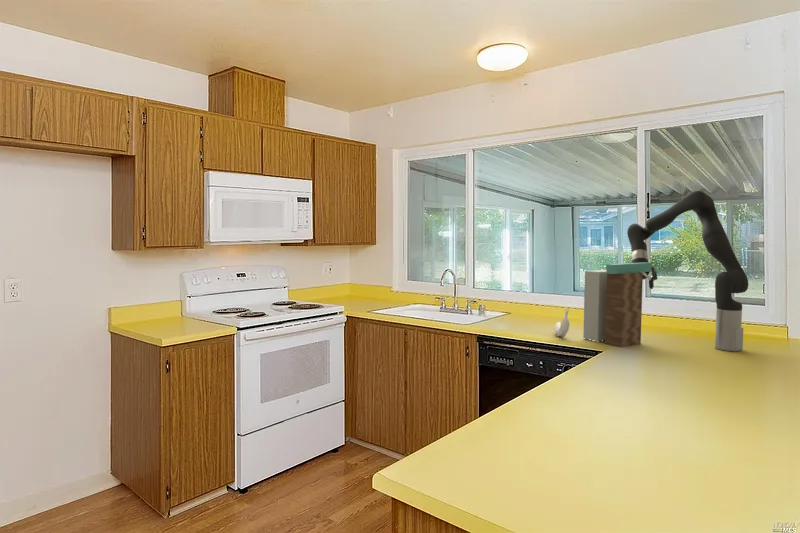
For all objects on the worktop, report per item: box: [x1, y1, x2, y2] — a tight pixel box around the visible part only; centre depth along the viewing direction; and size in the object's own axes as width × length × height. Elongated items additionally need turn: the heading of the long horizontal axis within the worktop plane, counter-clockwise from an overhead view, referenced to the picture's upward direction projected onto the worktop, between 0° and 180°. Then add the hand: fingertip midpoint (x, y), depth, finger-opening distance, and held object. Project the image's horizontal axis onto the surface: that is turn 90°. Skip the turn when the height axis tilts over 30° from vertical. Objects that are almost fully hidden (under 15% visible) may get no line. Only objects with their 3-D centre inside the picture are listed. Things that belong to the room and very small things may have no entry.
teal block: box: [605, 262, 652, 274], centre depth 235 cm, size 26×4×4 cm, turn 121°
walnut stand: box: [604, 272, 644, 348], centre depth 235 cm, size 14×8×32 cm, turn 121°
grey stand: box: [582, 269, 607, 342], centre depth 245 cm, size 14×8×32 cm, turn 121°
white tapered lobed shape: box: [553, 307, 570, 338], centre depth 252 cm, size 5×19×15 cm, turn 179°
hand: (642, 290), depth 251 cm, fingers open, 8 cm apart
